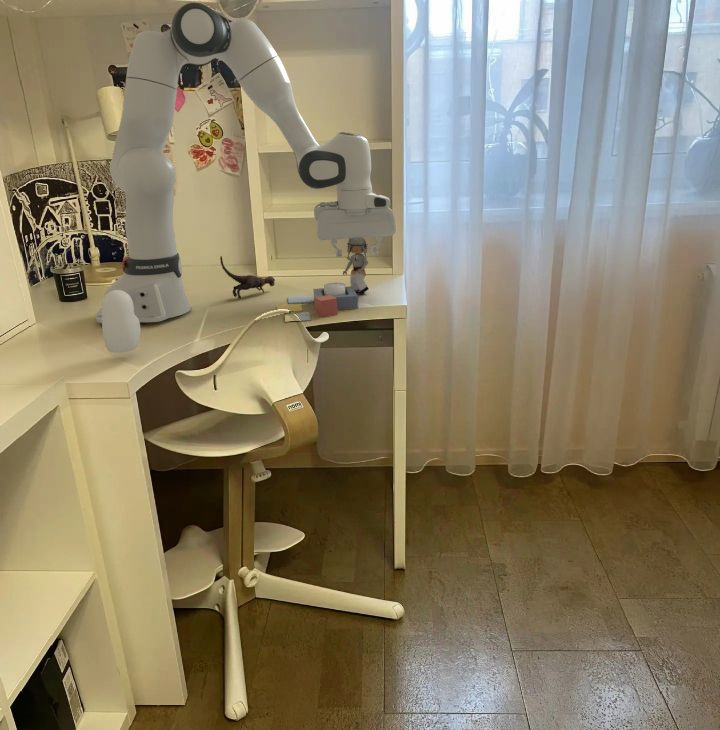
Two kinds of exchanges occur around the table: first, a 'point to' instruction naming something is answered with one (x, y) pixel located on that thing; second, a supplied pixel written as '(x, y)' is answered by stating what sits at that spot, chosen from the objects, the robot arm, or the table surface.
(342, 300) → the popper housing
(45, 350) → the table surface
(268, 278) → the dinosaur model
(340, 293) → the popper dome
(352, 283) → the toy
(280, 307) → the mustard space
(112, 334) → the figurine
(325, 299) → the die
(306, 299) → the track spaces
